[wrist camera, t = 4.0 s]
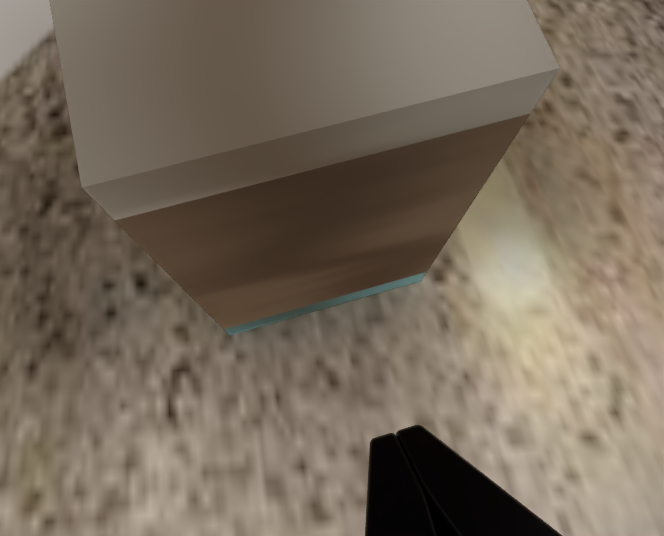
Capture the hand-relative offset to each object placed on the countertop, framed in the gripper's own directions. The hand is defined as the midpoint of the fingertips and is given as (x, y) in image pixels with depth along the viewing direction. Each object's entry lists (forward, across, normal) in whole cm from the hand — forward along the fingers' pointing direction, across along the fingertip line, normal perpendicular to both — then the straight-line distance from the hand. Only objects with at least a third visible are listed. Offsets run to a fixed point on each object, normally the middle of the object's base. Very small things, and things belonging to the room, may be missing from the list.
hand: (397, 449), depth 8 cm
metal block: (+10, 0, 0) cm, 10 cm away
